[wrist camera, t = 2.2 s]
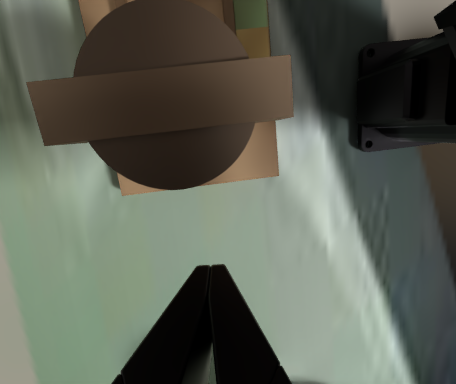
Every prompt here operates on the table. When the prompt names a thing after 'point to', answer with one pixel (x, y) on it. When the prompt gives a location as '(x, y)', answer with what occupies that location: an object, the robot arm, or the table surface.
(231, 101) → the peg
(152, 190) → the tuner board
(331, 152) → the table surface
